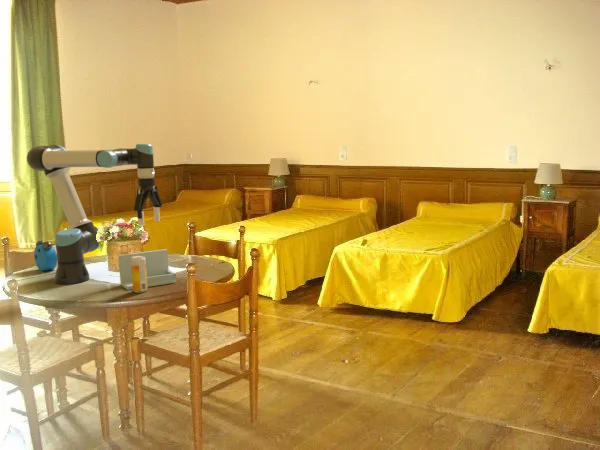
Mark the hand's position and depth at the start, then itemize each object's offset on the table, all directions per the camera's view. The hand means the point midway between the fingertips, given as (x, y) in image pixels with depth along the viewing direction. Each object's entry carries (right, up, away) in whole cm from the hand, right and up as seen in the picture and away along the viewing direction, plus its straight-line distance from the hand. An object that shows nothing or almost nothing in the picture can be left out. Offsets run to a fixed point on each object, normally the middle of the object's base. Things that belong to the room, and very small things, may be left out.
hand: (149, 223), depth 308 cm
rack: (+2, -27, -11) cm, 29 cm away
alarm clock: (-57, -24, +25) cm, 67 cm away
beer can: (+2, -29, -24) cm, 38 cm away
